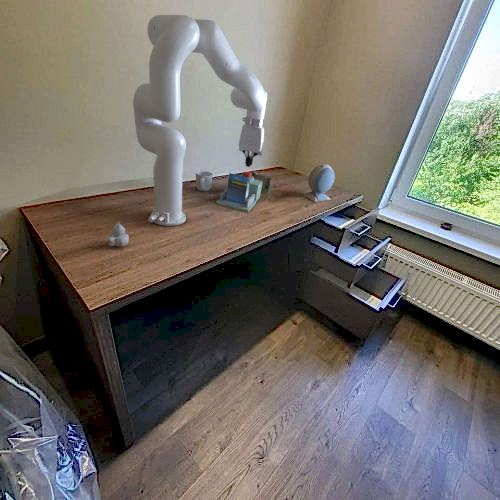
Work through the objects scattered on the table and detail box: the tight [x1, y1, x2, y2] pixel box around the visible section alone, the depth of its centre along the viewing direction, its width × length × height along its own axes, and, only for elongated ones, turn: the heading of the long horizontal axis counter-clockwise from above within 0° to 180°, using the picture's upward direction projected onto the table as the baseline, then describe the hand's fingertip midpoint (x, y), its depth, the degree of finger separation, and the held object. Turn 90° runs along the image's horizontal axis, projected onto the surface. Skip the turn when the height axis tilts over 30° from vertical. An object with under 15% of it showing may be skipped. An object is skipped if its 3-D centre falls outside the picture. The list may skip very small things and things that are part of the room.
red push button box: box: [235, 173, 263, 202], centre depth 132 cm, size 8×14×10 cm, turn 72°
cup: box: [195, 170, 214, 192], centre depth 131 cm, size 11×8×8 cm
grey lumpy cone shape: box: [106, 221, 130, 248], centre depth 81 cm, size 5×7×8 cm
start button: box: [242, 171, 252, 178], centre depth 129 cm, size 4×4×2 cm
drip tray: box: [215, 189, 257, 213], centre depth 124 cm, size 12×15×4 cm
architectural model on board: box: [251, 169, 277, 195], centre depth 142 cm, size 11×3×10 cm, turn 56°
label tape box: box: [226, 172, 249, 204], centre depth 121 cm, size 9×4×12 cm, turn 72°
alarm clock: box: [301, 163, 336, 203], centre depth 144 cm, size 14×10×18 cm
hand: (248, 166), depth 127 cm, fingers closed
